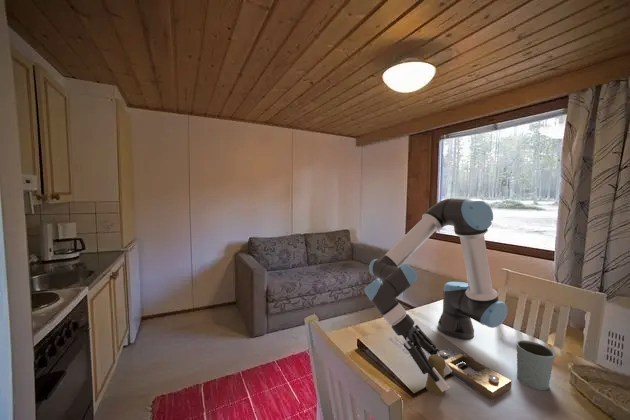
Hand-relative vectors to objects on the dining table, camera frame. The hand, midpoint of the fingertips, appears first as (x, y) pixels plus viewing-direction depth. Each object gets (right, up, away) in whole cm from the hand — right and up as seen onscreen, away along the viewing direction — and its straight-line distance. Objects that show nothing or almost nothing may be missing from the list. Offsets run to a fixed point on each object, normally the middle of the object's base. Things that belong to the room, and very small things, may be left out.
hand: (447, 380), depth 85 cm
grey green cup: (+33, -5, +7) cm, 34 cm away
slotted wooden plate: (+12, -4, +10) cm, 16 cm away
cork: (-3, -4, +2) cm, 6 cm away
